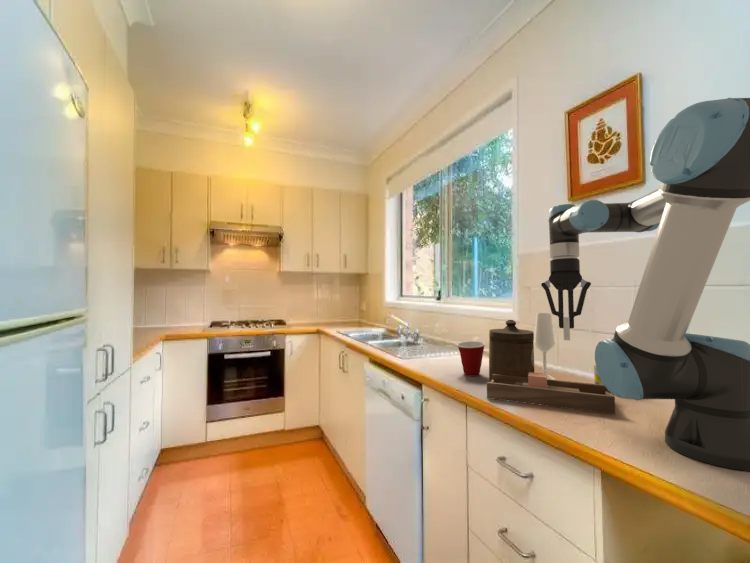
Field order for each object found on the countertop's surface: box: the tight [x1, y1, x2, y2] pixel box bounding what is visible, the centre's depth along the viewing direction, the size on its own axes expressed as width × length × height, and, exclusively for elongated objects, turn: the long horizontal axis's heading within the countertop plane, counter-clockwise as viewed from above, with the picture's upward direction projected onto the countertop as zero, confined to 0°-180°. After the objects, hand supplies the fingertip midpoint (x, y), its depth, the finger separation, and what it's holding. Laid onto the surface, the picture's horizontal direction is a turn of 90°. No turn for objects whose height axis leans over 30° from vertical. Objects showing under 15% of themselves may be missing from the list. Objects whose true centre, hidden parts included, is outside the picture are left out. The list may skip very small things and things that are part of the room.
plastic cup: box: [456, 340, 486, 377], centre depth 133 cm, size 11×11×12 cm
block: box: [528, 372, 548, 388], centre depth 103 cm, size 5×5×4 cm
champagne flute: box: [533, 311, 556, 380], centre depth 126 cm, size 7×7×24 cm
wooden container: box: [488, 319, 535, 382], centre depth 121 cm, size 15×15×22 cm
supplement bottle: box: [593, 362, 610, 392], centre depth 112 cm, size 6×6×10 cm
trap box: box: [486, 374, 616, 415], centre depth 102 cm, size 12×32×4 cm, turn 63°
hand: (566, 339), depth 99 cm, fingers closed
